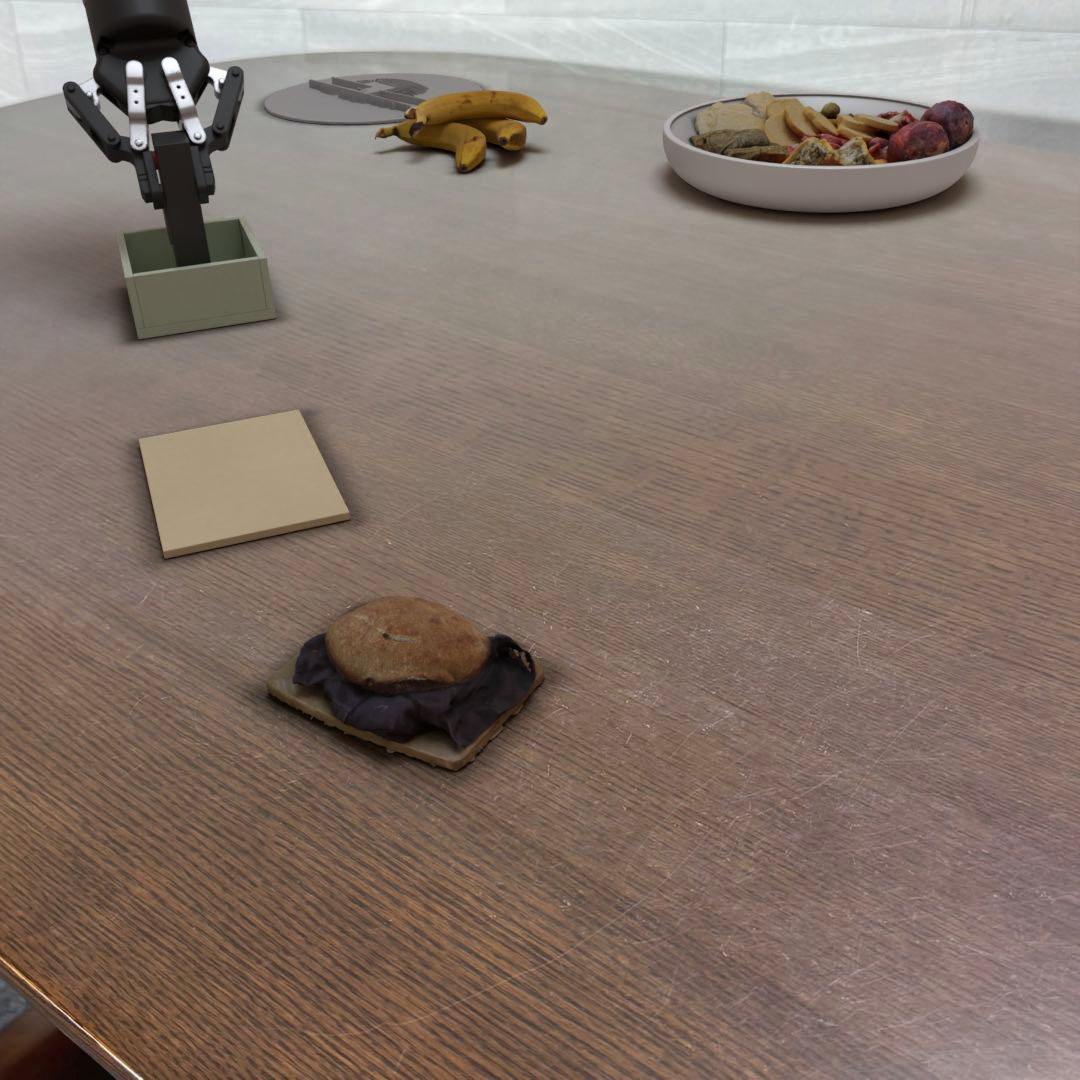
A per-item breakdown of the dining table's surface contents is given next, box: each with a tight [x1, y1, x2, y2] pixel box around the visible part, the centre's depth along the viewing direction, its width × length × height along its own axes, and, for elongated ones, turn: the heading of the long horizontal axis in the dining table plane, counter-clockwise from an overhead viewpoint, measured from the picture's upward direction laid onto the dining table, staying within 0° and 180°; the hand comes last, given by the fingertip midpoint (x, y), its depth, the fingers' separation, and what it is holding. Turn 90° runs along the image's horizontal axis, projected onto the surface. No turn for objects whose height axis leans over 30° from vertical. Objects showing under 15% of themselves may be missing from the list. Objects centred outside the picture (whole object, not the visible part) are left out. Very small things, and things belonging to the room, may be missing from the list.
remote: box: [150, 129, 211, 268], centre depth 91 cm, size 3×4×12 cm
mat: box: [138, 409, 351, 560], centre depth 70 cm, size 14×10×1 cm
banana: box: [374, 89, 548, 173], centre depth 129 cm, size 15×19×6 cm
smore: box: [265, 595, 546, 771], centre depth 53 cm, size 11×8×4 cm
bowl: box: [662, 90, 981, 214], centre depth 117 cm, size 30×30×8 cm
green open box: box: [115, 215, 277, 340], centre depth 93 cm, size 10×11×5 cm
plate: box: [264, 72, 484, 125], centre depth 155 cm, size 28×28×1 cm
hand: (181, 200), depth 88 cm, fingers closed on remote, 2 cm apart
